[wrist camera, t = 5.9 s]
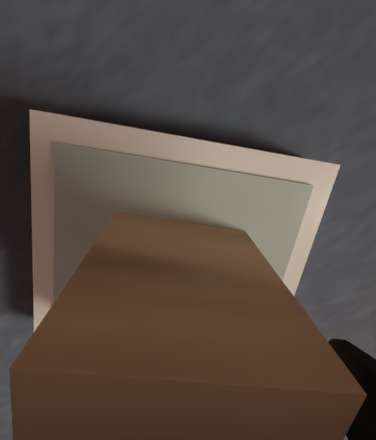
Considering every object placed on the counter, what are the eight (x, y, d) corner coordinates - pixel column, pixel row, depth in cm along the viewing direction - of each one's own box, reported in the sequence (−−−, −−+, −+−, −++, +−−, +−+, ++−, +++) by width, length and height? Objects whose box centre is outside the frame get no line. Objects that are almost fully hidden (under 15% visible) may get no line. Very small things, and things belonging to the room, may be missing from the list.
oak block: (218, 332, 11) (273, 569, 5) (105, 321, 10) (20, 571, 4) (245, 230, 9) (367, 394, 3) (115, 211, 9) (9, 368, 3)
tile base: (247, 341, 14) (264, 386, 12) (59, 324, 13) (32, 370, 11) (304, 157, 11) (344, 165, 9) (62, 114, 10) (25, 108, 7)
